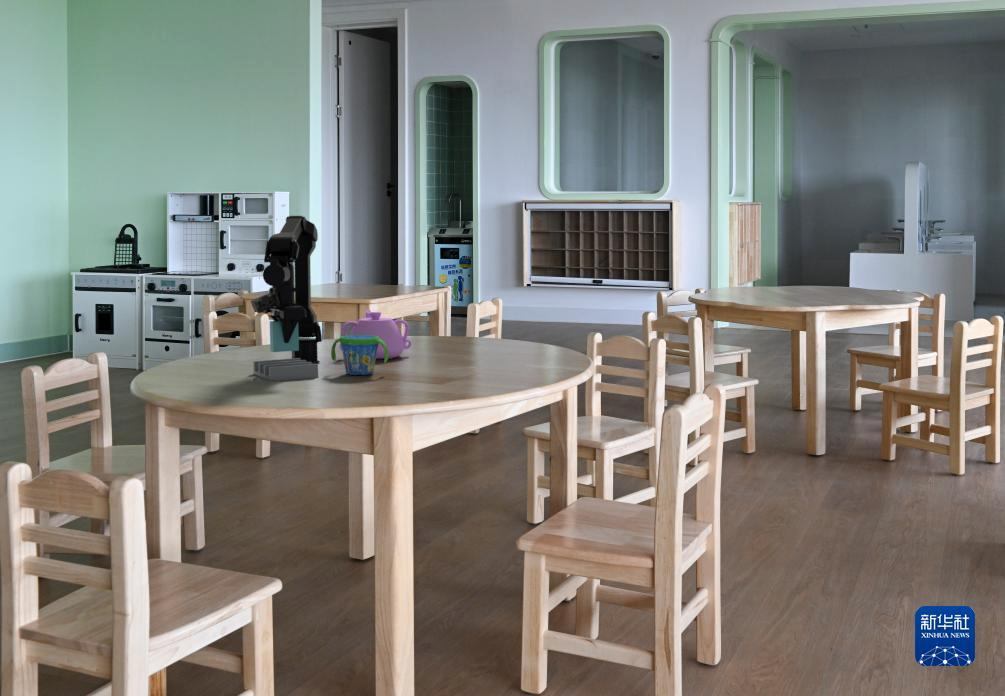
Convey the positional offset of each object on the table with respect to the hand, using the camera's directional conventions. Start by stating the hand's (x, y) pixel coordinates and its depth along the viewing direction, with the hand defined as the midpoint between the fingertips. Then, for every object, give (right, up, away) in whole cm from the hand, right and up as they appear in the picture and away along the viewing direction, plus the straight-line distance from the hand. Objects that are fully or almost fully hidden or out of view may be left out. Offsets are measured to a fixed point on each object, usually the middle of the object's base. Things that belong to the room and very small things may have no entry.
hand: (284, 342), depth 291 cm
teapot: (+19, -4, +41) cm, 45 cm away
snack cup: (+20, -9, +4) cm, 22 cm away
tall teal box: (0, -2, 0) cm, 2 cm away
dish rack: (0, -9, +1) cm, 9 cm away
